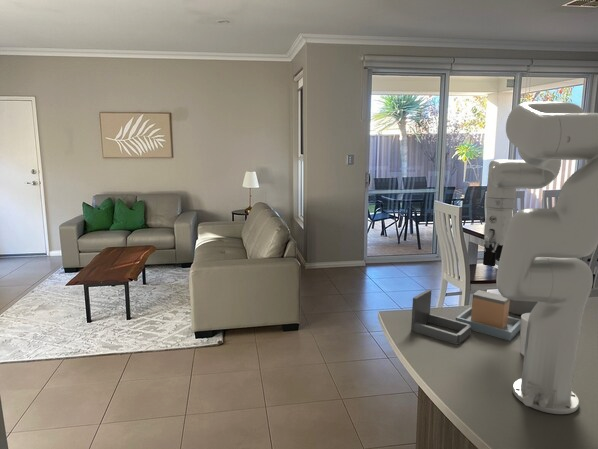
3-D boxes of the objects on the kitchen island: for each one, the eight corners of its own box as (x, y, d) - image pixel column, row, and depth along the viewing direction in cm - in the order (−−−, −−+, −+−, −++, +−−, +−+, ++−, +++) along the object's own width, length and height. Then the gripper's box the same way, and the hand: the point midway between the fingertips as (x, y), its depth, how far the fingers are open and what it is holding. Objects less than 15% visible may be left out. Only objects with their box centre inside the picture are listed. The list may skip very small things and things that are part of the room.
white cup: (555, 354, 116) (559, 318, 114) (546, 365, 110) (551, 327, 108) (522, 344, 121) (526, 310, 119) (513, 354, 115) (517, 318, 113)
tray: (510, 340, 123) (510, 332, 123) (455, 325, 133) (455, 317, 133) (522, 327, 132) (523, 320, 131) (469, 314, 142) (470, 306, 141)
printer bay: (458, 345, 121) (460, 310, 119) (411, 330, 130) (412, 297, 128) (471, 333, 128) (474, 300, 126) (426, 320, 137) (428, 289, 135)
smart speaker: (535, 321, 137) (540, 277, 134) (502, 314, 142) (507, 272, 139) (537, 311, 145) (542, 270, 142) (507, 305, 150) (511, 265, 147)
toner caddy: (501, 331, 128) (504, 301, 126) (470, 322, 133) (472, 294, 132) (507, 325, 131) (510, 297, 130) (476, 317, 137) (479, 290, 135)
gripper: (504, 208, 117) (498, 270, 120) (523, 202, 129) (517, 258, 133) (475, 205, 122) (470, 265, 125) (496, 199, 134) (491, 254, 137)
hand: (494, 262), depth 129 cm, fingers open, 9 cm apart
